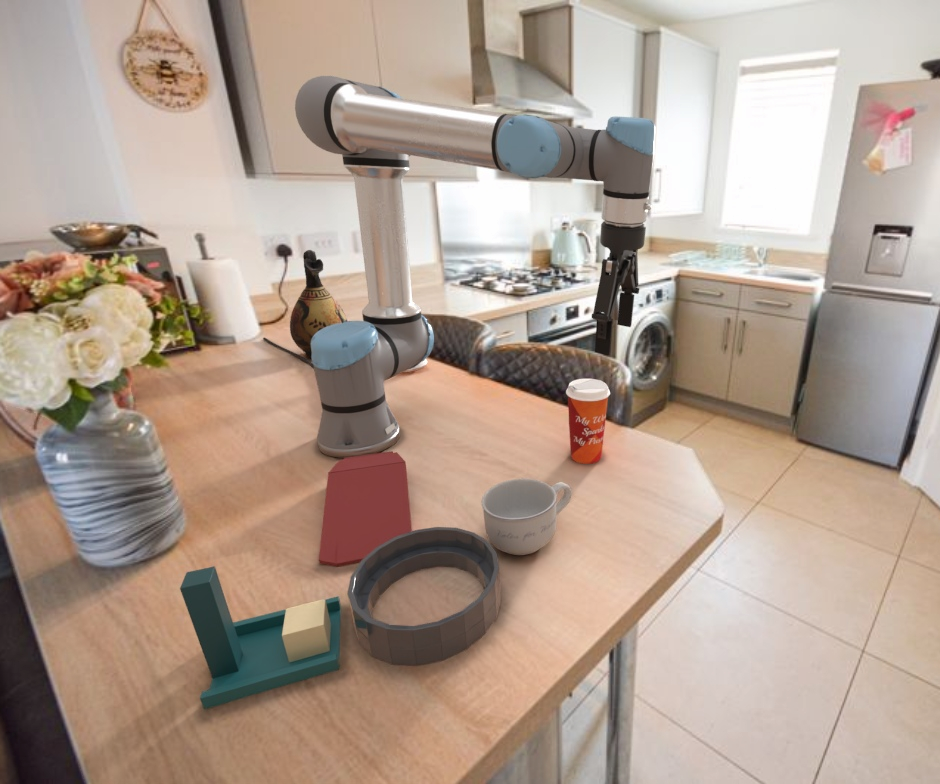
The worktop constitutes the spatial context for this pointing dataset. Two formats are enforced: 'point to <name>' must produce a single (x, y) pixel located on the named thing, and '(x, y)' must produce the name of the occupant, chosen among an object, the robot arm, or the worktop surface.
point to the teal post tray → (248, 644)
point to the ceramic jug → (313, 306)
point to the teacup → (522, 514)
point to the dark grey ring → (410, 557)
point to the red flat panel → (364, 507)
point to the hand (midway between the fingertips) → (614, 338)
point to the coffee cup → (587, 418)
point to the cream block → (306, 630)
